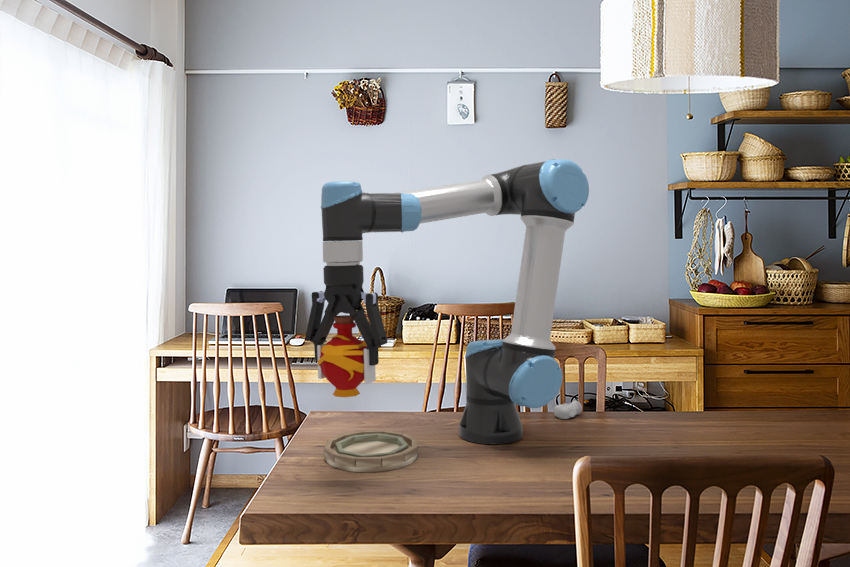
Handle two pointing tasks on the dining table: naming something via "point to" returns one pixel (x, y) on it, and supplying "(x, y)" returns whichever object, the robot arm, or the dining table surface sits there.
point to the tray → (371, 451)
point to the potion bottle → (343, 358)
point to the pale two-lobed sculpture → (568, 410)
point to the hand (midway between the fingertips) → (346, 379)
